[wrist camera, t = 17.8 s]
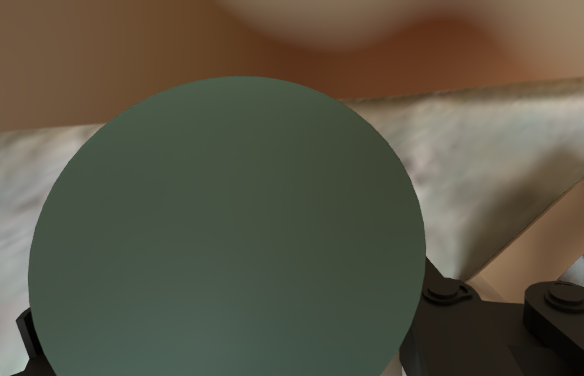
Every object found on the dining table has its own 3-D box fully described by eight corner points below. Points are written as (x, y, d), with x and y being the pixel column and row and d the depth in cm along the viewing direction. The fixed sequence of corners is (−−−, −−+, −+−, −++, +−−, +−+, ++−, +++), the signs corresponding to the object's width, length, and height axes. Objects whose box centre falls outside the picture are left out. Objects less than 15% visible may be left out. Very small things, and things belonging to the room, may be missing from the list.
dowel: (211, 345, 17) (-30, 195, 4) (288, 285, 18) (270, 29, 6) (269, 436, 15) (152, 587, 3) (350, 364, 17) (511, 258, 4)
